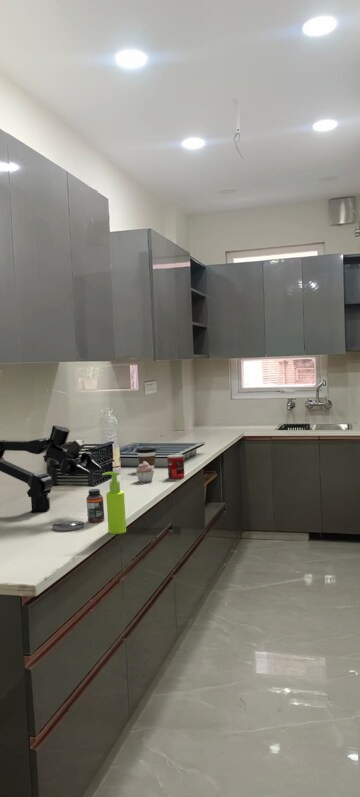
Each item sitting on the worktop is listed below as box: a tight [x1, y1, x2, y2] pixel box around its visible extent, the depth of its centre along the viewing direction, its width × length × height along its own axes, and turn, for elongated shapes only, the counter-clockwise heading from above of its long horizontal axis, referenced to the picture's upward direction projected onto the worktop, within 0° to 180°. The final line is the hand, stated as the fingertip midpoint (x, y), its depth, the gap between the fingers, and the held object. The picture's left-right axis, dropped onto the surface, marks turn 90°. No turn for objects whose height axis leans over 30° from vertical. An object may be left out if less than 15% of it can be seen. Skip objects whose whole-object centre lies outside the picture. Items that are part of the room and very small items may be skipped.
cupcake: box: [134, 461, 155, 483], centre depth 295 cm, size 9×9×10 cm
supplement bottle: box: [86, 488, 105, 524], centre depth 220 cm, size 6×6×11 cm
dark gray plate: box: [51, 520, 85, 533], centre depth 213 cm, size 11×11×1 cm
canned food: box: [166, 453, 185, 480], centre depth 300 cm, size 8×8×11 cm
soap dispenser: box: [101, 471, 127, 535], centre depth 203 cm, size 6×7×20 cm
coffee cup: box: [135, 446, 157, 471], centre depth 325 cm, size 11×11×12 cm
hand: (95, 471), depth 233 cm, fingers open, 9 cm apart
